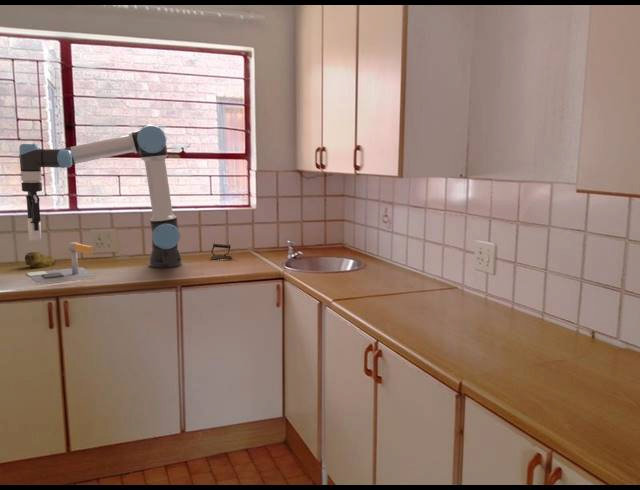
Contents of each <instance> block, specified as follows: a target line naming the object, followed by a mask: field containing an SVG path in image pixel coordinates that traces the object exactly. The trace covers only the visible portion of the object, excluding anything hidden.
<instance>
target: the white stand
mask: <svg viewBox="0 0 640 490" xmlns="http://www.w3.org/2000/svg"><path fill="white" fill-rule="evenodd" d="M70 252H71V253H70V256H71V268H62V269H53V270H44V271H45V272H46V273H47V274H42V276H32V277H29V278H30V279H32V280H33V282H35V283H41V284H39V285H42V283H46V282H47V283H48V282H49V283H50V282H52V281H53V282H54V281H58V282H56V283H57V284H58V283H59V281H61V280H62V281H63V280H72V279H79V278H83V279H81V280H84V278H88V277H89V279H90V280H91V279H92V278H90V277H95V276H96V275H95V274H94V273H92V272H90V271H89V270H88V269H85V268H84V267H82V266H81V267H80V266H79V261H78V252H77V251H70ZM27 273H28V272H26V273H25V274H26V275H27ZM73 281H76V280H72V282H73ZM64 282H67V281H64ZM49 283H48V284H49Z"/></svg>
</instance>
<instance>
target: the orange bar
mask: <svg viewBox="0 0 640 490" xmlns="http://www.w3.org/2000/svg"><path fill="white" fill-rule="evenodd" d="M68 251H70V252H71V251H77V253H81V254H86V255H93V254H94V246H93V245H87V244H83V243H79V242H77V241H72V242H68Z"/></svg>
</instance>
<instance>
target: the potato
mask: <svg viewBox="0 0 640 490" xmlns="http://www.w3.org/2000/svg"><path fill="white" fill-rule="evenodd" d="M24 260H25V264H26V265H27V266H30V267H31V268H47V267H48V268H49V267H53V266H55V264H56V260H55V258H54V257H52V256H49V255H45V254H42V253H40V252H37V251H30V252H28V253H26V254H25V255H24Z"/></svg>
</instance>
